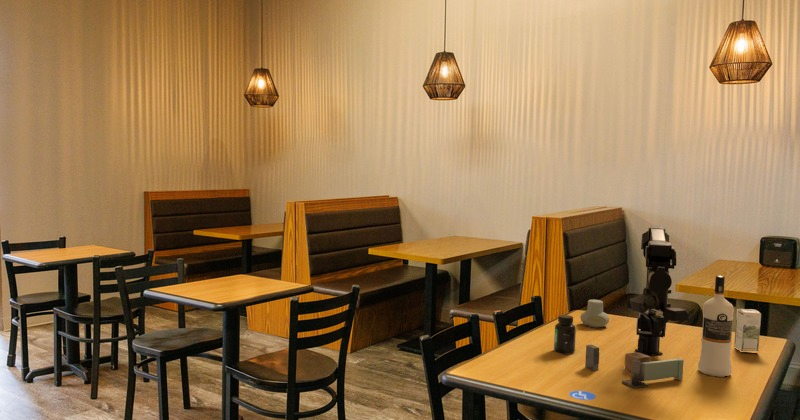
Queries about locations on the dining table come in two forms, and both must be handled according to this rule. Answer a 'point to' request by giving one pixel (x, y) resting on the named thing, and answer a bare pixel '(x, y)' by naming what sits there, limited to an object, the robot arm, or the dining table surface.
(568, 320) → the supplement bottle
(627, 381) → the hinge post
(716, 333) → the vodka
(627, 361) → the reddish brown cube
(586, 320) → the air freshener
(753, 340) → the syrup box
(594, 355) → the latch stile
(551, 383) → the dining table surface
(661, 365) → the grey slab
